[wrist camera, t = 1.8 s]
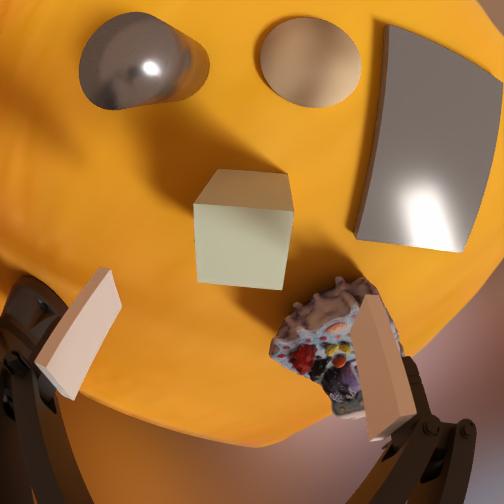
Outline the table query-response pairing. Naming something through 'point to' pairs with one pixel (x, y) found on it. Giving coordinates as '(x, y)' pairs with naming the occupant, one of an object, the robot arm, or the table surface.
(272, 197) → the sage block
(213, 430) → the table surface
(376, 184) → the slate board
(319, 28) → the cork coaster
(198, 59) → the dark tin
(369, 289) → the cell model
